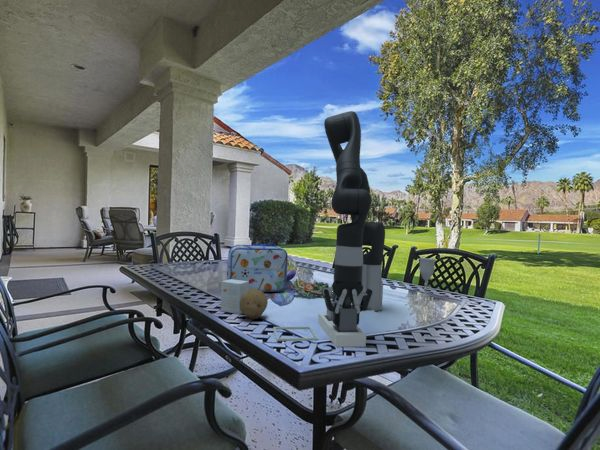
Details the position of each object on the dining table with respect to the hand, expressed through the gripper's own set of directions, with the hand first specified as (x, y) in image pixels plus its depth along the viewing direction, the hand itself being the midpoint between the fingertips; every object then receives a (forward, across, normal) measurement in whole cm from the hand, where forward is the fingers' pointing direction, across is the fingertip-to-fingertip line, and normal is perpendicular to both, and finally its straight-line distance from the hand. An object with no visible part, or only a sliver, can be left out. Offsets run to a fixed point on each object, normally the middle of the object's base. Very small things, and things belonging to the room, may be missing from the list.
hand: (345, 325), depth 93 cm
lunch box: (+5, +20, -66) cm, 69 cm away
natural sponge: (+5, +24, -22) cm, 33 cm away
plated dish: (+6, -4, -66) cm, 66 cm away
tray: (+5, +13, -5) cm, 15 cm away
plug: (+3, 0, 0) cm, 3 cm away
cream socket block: (+5, 0, -5) cm, 7 cm away
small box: (+5, +30, -33) cm, 45 cm away
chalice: (+5, -53, -52) cm, 74 cm away
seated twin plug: (+4, 0, -10) cm, 11 cm away
